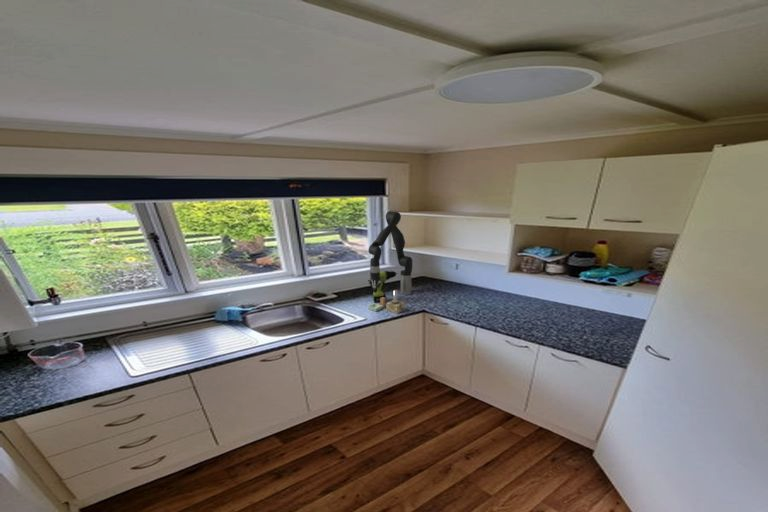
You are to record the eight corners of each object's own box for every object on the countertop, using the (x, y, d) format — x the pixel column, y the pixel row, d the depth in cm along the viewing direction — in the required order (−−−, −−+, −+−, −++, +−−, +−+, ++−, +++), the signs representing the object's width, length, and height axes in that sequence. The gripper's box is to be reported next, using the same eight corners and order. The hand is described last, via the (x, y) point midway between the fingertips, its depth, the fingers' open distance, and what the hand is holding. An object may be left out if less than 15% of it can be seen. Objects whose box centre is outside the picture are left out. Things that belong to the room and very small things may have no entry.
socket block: (394, 306, 241) (394, 299, 240) (404, 309, 235) (404, 302, 234) (386, 310, 234) (386, 303, 232) (396, 314, 228) (396, 306, 226)
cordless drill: (397, 298, 260) (397, 269, 254) (399, 301, 253) (399, 271, 247) (370, 300, 256) (369, 271, 251) (371, 303, 249) (370, 273, 244)
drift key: (382, 305, 244) (382, 296, 242) (385, 306, 242) (385, 297, 240) (380, 306, 241) (380, 298, 240) (383, 307, 240) (383, 298, 238)
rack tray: (374, 306, 243) (374, 303, 243) (382, 308, 238) (382, 305, 238) (368, 309, 237) (368, 306, 236) (376, 311, 232) (376, 308, 232)
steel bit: (395, 309, 237) (394, 289, 233) (398, 310, 235) (398, 290, 231) (392, 310, 234) (392, 290, 231) (395, 311, 232) (395, 291, 229)
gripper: (384, 271, 239) (384, 292, 242) (371, 268, 247) (371, 289, 250) (378, 273, 233) (378, 295, 237) (365, 270, 241) (365, 291, 245)
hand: (375, 292), depth 244 cm, fingers closed
